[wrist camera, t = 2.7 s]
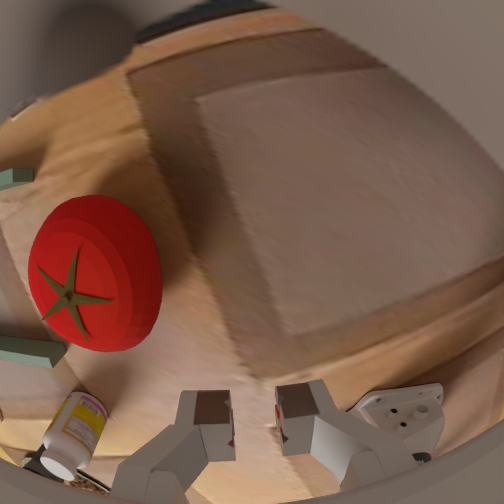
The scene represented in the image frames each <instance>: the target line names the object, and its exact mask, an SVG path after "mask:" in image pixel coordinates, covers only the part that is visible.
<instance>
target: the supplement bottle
mask: <svg viewBox="0 0 504 504" xmlns="http://www.w3.org/2000/svg"><path fill="white" fill-rule="evenodd" d="M106 421H107V412H106V410H105V408H104V407H103V405H102V404H101V403H100V402H99V401H98V400H97V399H96V398H94V397H93V396H91V395H89V394H87V393H83V392H72V393H71V394H69V395H68V397H67V398H66V400H65V401H64V403H63V405H62V406H61V408H60V409H59V411H58V413H57V414H56V416H55V417H54V419H53V421H52V422H51V424H50V426H49V427H48V429H47V430H46V432H45V434H44V436H43V443H44V446H45V448H46V449H47V450H45V451H44V452H43V454H42V456H41V458H40V461H41V463H42V464H43V465H44V467H45V468H46V469H48V470H49V471H50V472H51V473H53V474H54V475H56V476H58V477H60V478H62V479H64V480H68V481H72V480H74V479H75V476H76V474H77V469H81V468H85V467H86V466H88V465H89V463H90V461H91V458H92V455H93V453H94V450H95V448H96V445H97V443H98V441H99V438H100V436H101V433H102V431H103V429H104V426H105V424H106Z"/></svg>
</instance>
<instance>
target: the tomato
mask: <svg viewBox="0 0 504 504" xmlns="http://www.w3.org/2000/svg"><path fill="white" fill-rule="evenodd" d="M28 279H29V286H30V290H31V294H32V296H33V299H34V301H35V303H36V305H37V307H38V309H39V311H40V313H41V314H42V316H43V319H42V320H44V319H45V320H46V322H47V323H48V325H49V326H50V327H51V328H52V329H53V330H54V331H55V332H56V333H57V334H58V335H59V336H61V337H62V338H64V339H65V340H67V341H69V342H71V343H74V344H76V345H79V346H81V347H83V348H86V349H90V350H93V351H100V352H116V351H124V350H127V349H129V348H132V347H134V346H136V345H138V344H139V343H140V342H142V341H143V340H144V339H145V338H146V337H147V336H148V335H149V334H150V332H151V330H152V328H153V326H154V324H155V322H156V320H157V317H158V314H159V310H160V306H161V302H162V277H161V268H160V262H159V257H158V253H157V249H156V246H155V242H154V240H153V238H152V236H151V234H150V231H149V229H148V227H147V226H146V225H145V224H144V222H143V221H142V220H141V218H140V217H139V216H138V215H137V214H136V213H134V212H133V211H132V210H131V209H130V208H129V207H127V206H126V205H124V204H122V203H120V202H118V201H117V200H115V199H112V198H109V197H105V196H102V195H88V196H82V197H76V198H72V199H70V200H68V201H66V202H64V203H62V204H60V205H59V206H58V207H56V208H55V209H54V210H53V212H52V213H51V214H50V215H49V216H48V217H47V219H46V220H45V221H44V223H43V225H42V226H41V228H40V230H39V231H38V233H37V235H36V238H35V240H34V242H33V245H32V248H31V252H30V256H29V263H28ZM42 320H41V321H42Z"/></svg>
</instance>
